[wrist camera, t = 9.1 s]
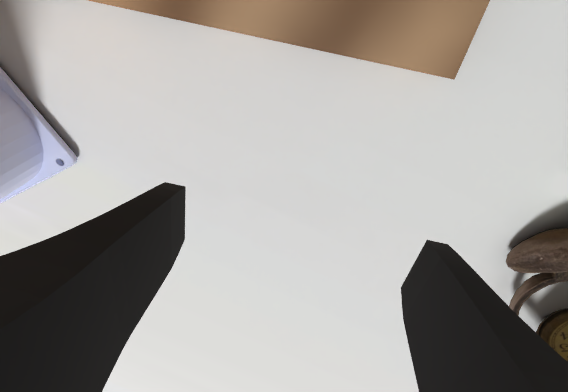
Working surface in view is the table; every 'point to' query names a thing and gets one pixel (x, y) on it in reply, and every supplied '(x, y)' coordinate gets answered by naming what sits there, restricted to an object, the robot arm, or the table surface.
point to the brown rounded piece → (543, 280)
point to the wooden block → (343, 26)
